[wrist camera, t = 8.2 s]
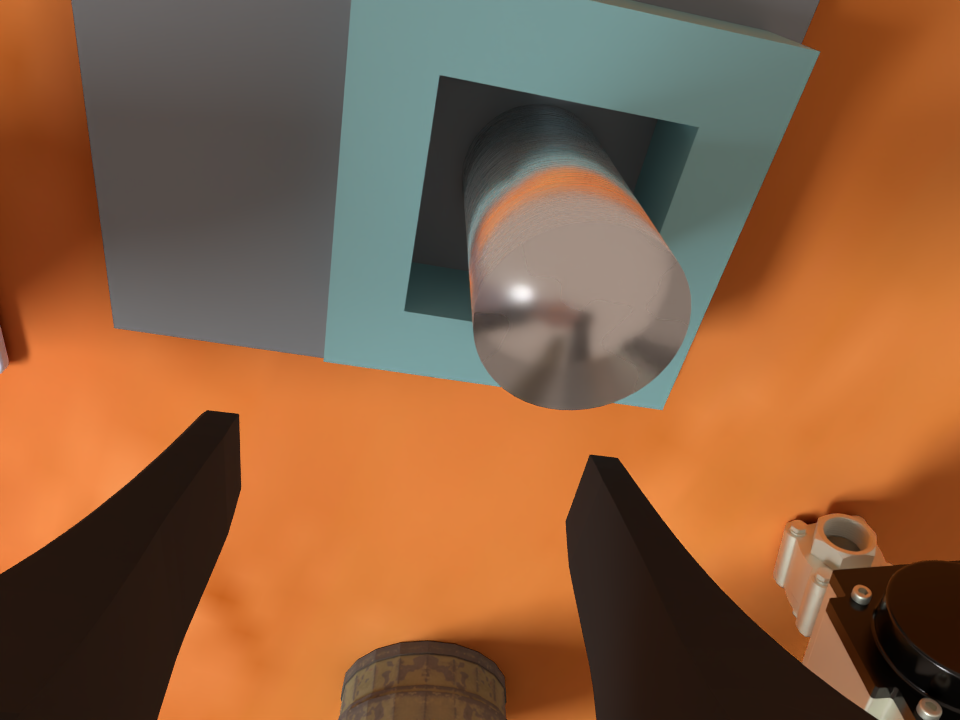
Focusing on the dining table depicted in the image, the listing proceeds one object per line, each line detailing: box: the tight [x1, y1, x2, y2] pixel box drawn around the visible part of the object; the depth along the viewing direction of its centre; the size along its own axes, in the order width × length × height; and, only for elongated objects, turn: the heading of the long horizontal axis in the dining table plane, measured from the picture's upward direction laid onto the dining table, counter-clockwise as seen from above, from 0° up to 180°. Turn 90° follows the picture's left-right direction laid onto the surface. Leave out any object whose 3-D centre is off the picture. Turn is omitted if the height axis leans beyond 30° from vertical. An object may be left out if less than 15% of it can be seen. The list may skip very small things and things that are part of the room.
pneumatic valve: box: [773, 513, 960, 720], centre depth 24 cm, size 6×12×12 cm, turn 5°
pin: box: [462, 104, 691, 410], centre depth 15 cm, size 4×4×8 cm
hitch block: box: [71, 0, 820, 410], centre depth 18 cm, size 18×14×4 cm
